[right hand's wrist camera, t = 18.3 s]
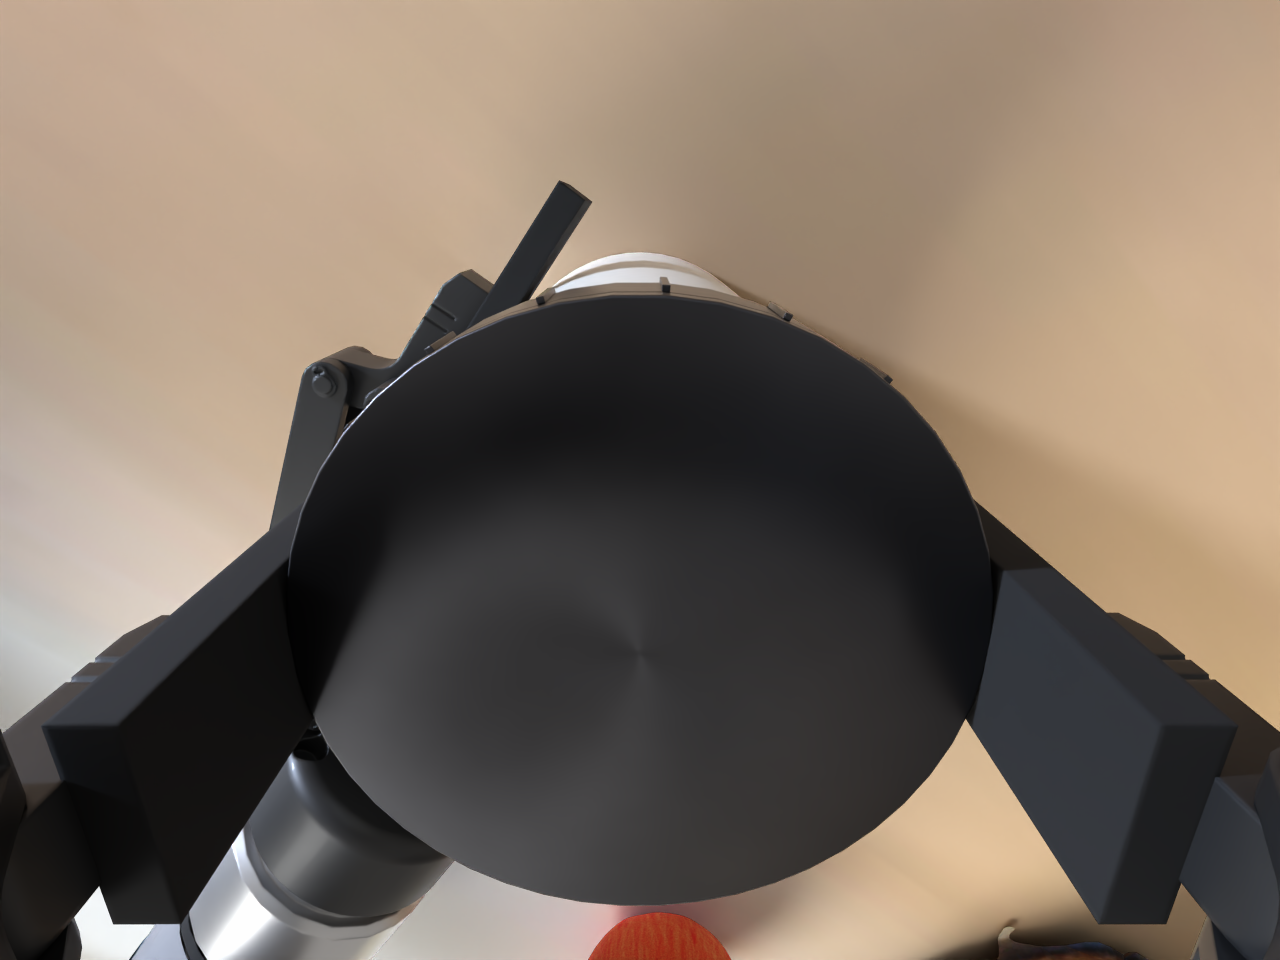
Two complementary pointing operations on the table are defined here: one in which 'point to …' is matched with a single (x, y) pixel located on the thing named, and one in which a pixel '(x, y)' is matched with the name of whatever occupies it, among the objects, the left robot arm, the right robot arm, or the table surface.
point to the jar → (641, 272)
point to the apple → (659, 940)
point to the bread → (1058, 951)
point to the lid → (639, 596)
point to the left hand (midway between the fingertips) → (733, 310)
